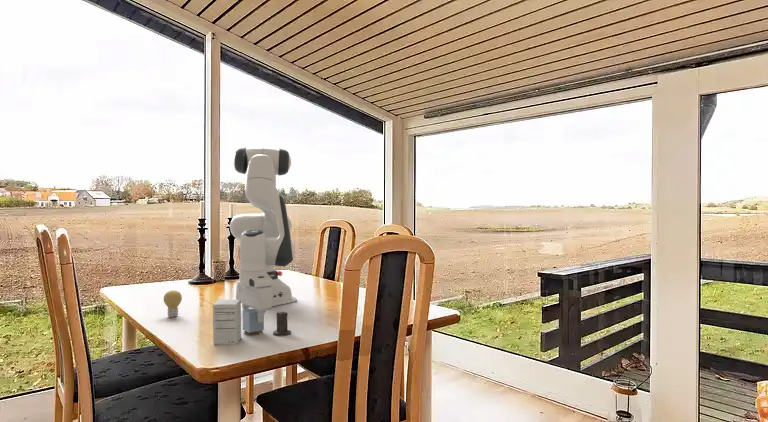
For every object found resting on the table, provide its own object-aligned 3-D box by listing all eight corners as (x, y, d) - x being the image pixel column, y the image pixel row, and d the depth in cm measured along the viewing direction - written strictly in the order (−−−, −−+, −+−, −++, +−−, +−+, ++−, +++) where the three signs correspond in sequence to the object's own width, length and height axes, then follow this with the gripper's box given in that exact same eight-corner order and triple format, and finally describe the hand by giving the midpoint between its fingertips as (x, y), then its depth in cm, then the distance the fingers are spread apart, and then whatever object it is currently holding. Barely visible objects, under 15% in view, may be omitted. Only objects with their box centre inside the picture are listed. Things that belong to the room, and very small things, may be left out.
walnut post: (257, 329, 170) (257, 309, 170) (265, 333, 165) (265, 312, 165) (241, 332, 166) (240, 311, 166) (248, 336, 161) (248, 315, 161)
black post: (285, 330, 169) (285, 309, 169) (294, 333, 165) (294, 313, 164) (269, 333, 165) (269, 312, 165) (278, 337, 161) (278, 315, 160)
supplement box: (218, 338, 159) (218, 299, 159) (241, 337, 160) (241, 299, 160) (212, 344, 152) (212, 304, 152) (236, 344, 153) (236, 303, 152)
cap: (256, 327, 169) (256, 308, 169) (263, 330, 165) (263, 310, 165) (242, 329, 166) (242, 310, 166) (249, 332, 162) (249, 312, 162)
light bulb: (175, 318, 185) (175, 292, 185) (160, 318, 187) (159, 291, 186) (185, 314, 192) (185, 289, 191) (170, 314, 193) (170, 288, 193)
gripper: (231, 275, 171) (231, 315, 171) (258, 283, 156) (258, 326, 156) (248, 273, 175) (248, 312, 176) (276, 281, 160) (276, 323, 160)
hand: (253, 319), depth 166 cm, fingers open, 8 cm apart
